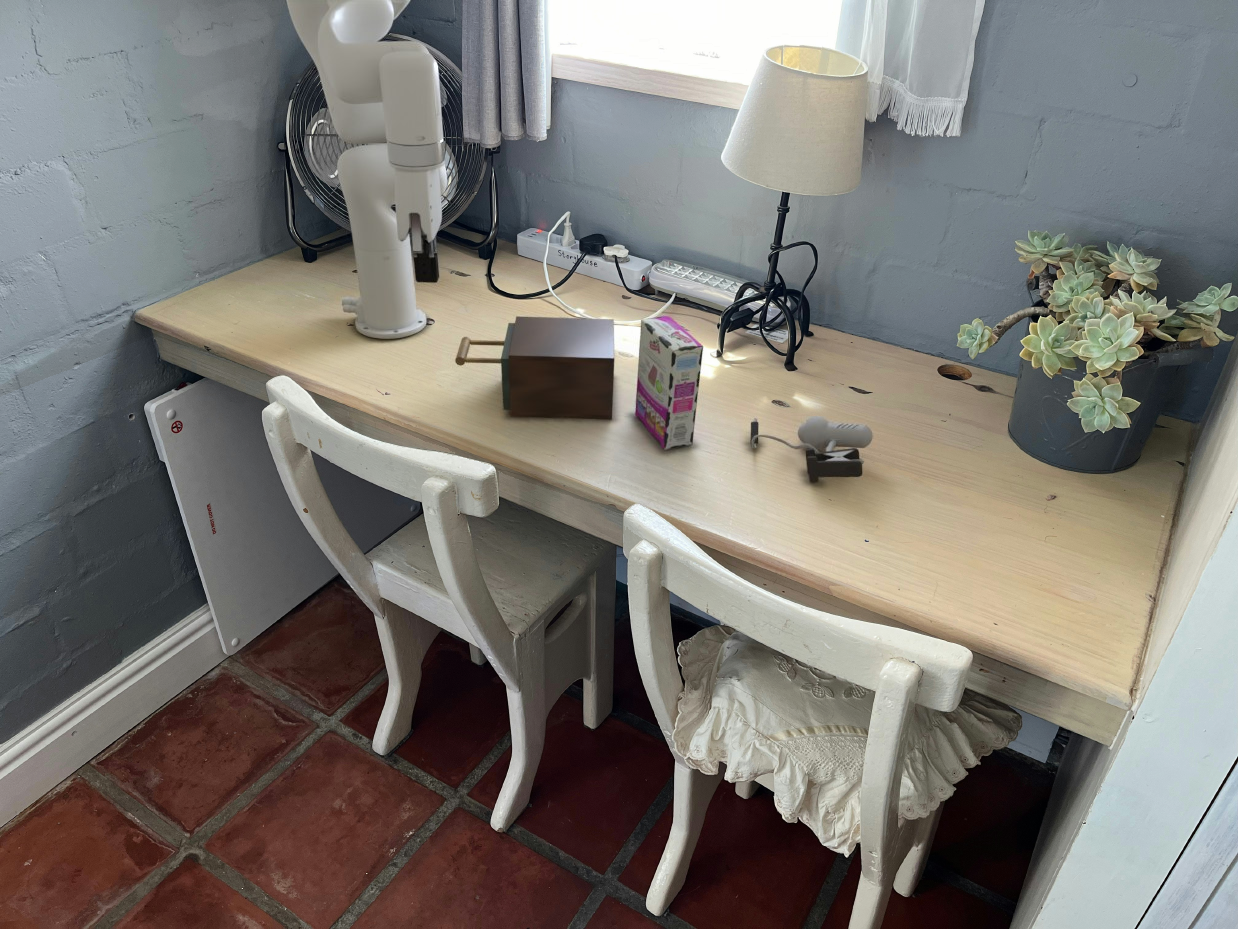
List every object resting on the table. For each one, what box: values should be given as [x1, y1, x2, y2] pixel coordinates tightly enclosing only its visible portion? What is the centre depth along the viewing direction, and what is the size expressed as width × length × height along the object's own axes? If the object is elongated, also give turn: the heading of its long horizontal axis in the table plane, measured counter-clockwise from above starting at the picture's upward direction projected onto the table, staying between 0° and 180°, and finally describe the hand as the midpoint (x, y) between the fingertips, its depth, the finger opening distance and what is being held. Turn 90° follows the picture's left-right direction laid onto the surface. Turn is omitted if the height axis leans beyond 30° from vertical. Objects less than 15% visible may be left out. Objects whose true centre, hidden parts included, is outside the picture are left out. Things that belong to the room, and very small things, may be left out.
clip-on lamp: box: [750, 415, 873, 483], centre depth 126 cm, size 12×6×18 cm
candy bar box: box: [634, 315, 704, 451], centre depth 128 cm, size 11×5×16 cm, turn 23°
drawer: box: [454, 322, 515, 411], centre depth 137 cm, size 22×12×9 cm, turn 91°
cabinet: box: [509, 315, 615, 421], centre depth 137 cm, size 16×14×11 cm
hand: (427, 280), depth 129 cm, fingers closed
